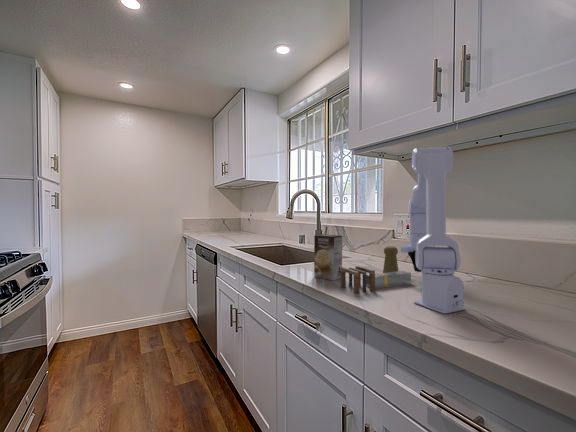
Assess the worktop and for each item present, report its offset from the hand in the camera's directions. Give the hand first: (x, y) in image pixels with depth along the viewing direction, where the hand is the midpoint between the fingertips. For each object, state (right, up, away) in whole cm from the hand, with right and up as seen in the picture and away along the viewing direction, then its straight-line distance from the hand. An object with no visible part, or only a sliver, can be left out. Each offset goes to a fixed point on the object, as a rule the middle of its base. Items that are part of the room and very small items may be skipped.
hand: (418, 271), depth 104 cm
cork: (-6, -3, +10) cm, 13 cm away
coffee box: (-32, -4, +6) cm, 32 cm away
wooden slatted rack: (-24, -4, -11) cm, 27 cm away
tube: (-12, -4, -5) cm, 14 cm away
